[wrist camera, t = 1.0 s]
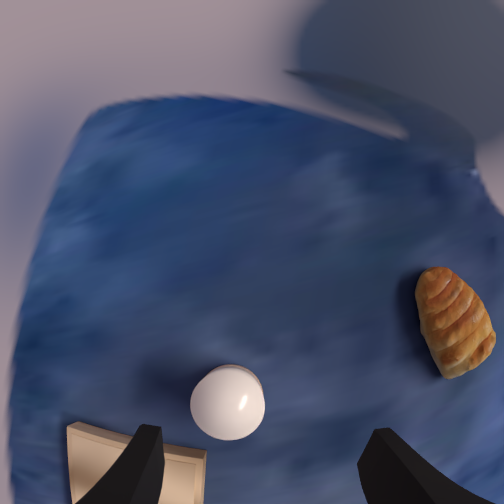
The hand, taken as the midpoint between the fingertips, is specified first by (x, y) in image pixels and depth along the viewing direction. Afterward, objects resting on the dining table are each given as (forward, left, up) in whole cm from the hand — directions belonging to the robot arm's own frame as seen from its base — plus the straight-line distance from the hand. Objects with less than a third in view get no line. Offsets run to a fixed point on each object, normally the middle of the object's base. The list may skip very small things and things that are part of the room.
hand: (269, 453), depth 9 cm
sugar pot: (0, +2, -14) cm, 14 cm away
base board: (-11, +9, -14) cm, 20 cm away
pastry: (+5, -16, -14) cm, 22 cm away
